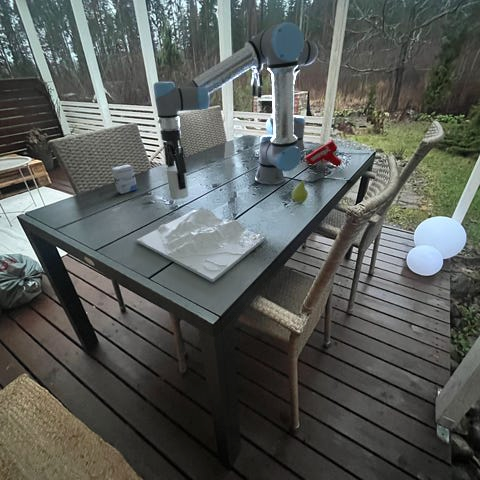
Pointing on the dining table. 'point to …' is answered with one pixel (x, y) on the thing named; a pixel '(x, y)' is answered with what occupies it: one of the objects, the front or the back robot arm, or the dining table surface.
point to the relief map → (202, 243)
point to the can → (176, 183)
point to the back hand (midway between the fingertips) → (256, 96)
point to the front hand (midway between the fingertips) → (178, 185)
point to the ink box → (124, 178)
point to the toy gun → (324, 155)
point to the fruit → (300, 192)
